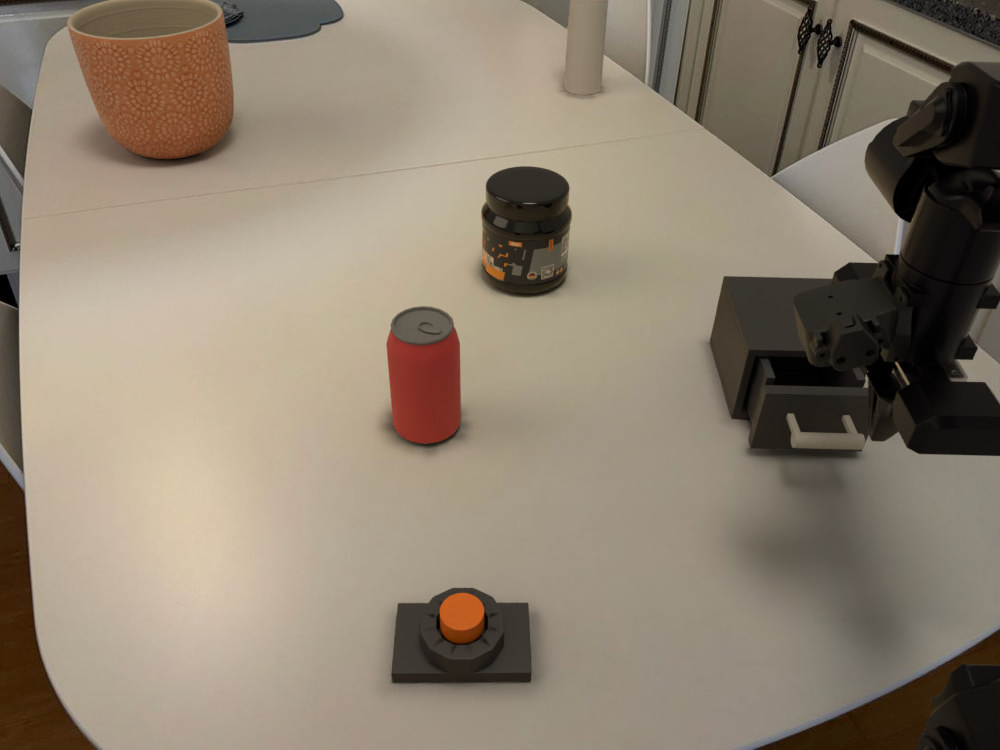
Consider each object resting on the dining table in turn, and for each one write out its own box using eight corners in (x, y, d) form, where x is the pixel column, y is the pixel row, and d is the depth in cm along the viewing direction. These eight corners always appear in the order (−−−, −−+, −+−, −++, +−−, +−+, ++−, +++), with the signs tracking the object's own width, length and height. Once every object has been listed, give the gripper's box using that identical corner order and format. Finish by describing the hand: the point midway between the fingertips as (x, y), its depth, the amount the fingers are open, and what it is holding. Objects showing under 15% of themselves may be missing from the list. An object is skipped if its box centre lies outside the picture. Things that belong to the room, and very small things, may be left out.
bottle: (605, 84, 154) (621, -89, 136) (595, 97, 149) (610, -81, 131) (570, 79, 156) (581, -93, 138) (559, 91, 151) (569, -85, 133)
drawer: (875, 482, 76) (899, 426, 72) (759, 479, 77) (776, 423, 72) (827, 374, 88) (845, 320, 84) (727, 371, 88) (739, 318, 84)
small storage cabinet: (849, 421, 84) (874, 352, 79) (731, 418, 84) (748, 349, 79) (814, 344, 94) (835, 278, 88) (709, 342, 94) (723, 275, 89)
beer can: (434, 457, 79) (429, 355, 72) (379, 430, 82) (369, 328, 74) (474, 418, 84) (474, 317, 76) (420, 393, 86) (415, 294, 79)
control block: (527, 611, 66) (529, 587, 64) (531, 682, 62) (532, 658, 60) (398, 611, 66) (396, 587, 64) (392, 683, 61) (389, 659, 59)
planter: (120, 185, 121) (81, 48, 109) (92, 132, 134) (55, 5, 122) (263, 155, 129) (241, 24, 117) (223, 108, 143) (200, -13, 131)
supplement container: (471, 257, 107) (471, 168, 99) (551, 246, 109) (556, 159, 102) (494, 303, 99) (495, 211, 92) (579, 291, 101) (587, 199, 94)
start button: (484, 606, 64) (484, 592, 62) (484, 644, 61) (484, 630, 60) (441, 607, 63) (440, 592, 62) (439, 644, 61) (438, 630, 60)
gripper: (786, 191, 62) (744, 359, 72) (867, 345, 48) (801, 530, 57) (940, 194, 62) (876, 363, 72) (1067, 350, 48) (966, 534, 57)
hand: (876, 438), depth 65 cm, fingers closed
